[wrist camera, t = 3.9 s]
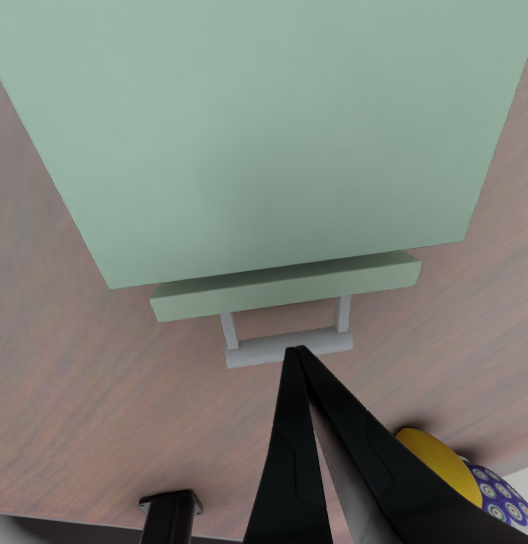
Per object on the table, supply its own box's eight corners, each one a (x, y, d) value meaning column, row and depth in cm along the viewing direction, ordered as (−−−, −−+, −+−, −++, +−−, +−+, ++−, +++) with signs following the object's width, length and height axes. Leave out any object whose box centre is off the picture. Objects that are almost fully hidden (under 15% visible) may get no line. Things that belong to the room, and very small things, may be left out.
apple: (409, 448, 27) (468, 548, 20) (370, 443, 26) (420, 550, 19) (445, 419, 25) (527, 522, 18) (404, 412, 23) (477, 521, 16)
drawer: (358, 313, 15) (396, 361, 11) (201, 336, 14) (188, 394, 11) (418, -145, 7) (633, -520, 3) (54, -123, 6) (-212, -532, 3)
